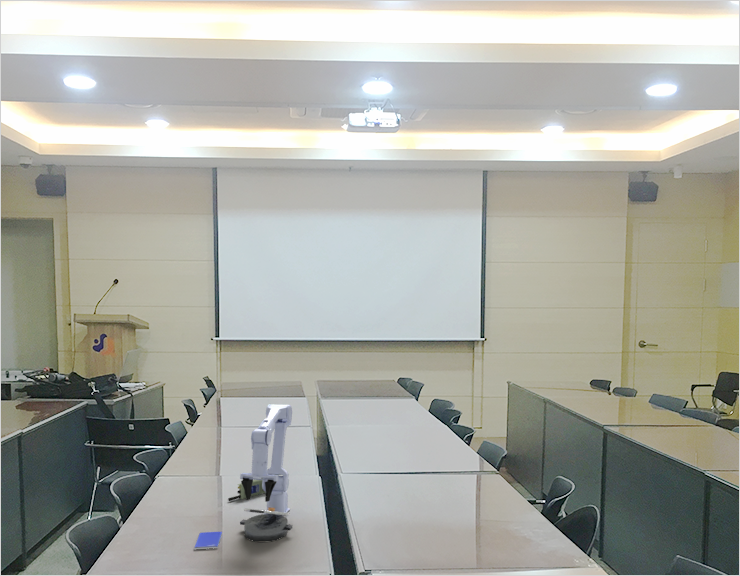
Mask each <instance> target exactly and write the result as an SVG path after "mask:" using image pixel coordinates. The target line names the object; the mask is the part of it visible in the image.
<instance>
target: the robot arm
mask: <svg viewBox="0 0 740 576" xmlns="http://www.w3.org/2000/svg"><path fill="white" fill-rule="evenodd" d="M265 415H266V418H264V419H263V420H262V421H261V422H260V424H259V426H258V427H257V428H255V429H254V430H252V431H251V436H250V443H251V450H252V455H251V456H252V457H251V458H252V460H251V472H249V473H247V472H246V473H245V472H242V473H240V474H239V479H240V480H241V481H240V482H241V483H242V485H243V487H244V490H245V494H246V498H245V500H246V501H249V500H251V499H252V497H251V488H252V483H253V480H263V481H262V488H263V490H264V491H265V493H264V494H265V496H264V497H265V498H264V500H265V502H266V510H268V507H270V508H275V511H278V512H286V513H289V511H290V510H291V508H290V507H288V505H289V503H288V502H289V498H288V497H289V495H288V492H287V491H288V489H289V484H290V483H289V481H290V479H289V475H290V474H289V472H288V471H287V470H286V469H285V468H284V467H283V465H284V456H285V445H286V444H285V443H286V436H287V435H286V434H287V428H288V427H289V426H291V425H292V417H293V407H292V405H291V404H276V403H275V404H271V403H269V404H268V405H267V406H266V410H265ZM273 433H274V434H273ZM272 435H273V436H272ZM272 437H273V443H272V453H271V464H270V467H269V468H268V463H269V462H268V461H269V445H270V444H271V441H272ZM278 475H279V476H278ZM262 478H263V479H262ZM241 483H240V484H241ZM283 516H284V517H285V515H283Z"/></svg>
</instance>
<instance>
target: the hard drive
mask: <svg viewBox="0 0 740 576" xmlns="http://www.w3.org/2000/svg"><path fill="white" fill-rule="evenodd" d="M221 535H222V536H223V531H207V532H206V531H205V532H200V533H199V534H198V537H197V540H196V542H195V545H194V547H193V550H194V551H196V550H195V549H206V550H210V549H209V548H213V549H212V550H215V549H214V548H218V549H219V546H218V545H220V543H219V542H221V539H222V536H221ZM207 548H208V549H207Z"/></svg>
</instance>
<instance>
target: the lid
mask: <svg viewBox="0 0 740 576" xmlns="http://www.w3.org/2000/svg"><path fill="white" fill-rule="evenodd" d="M243 510H244V512H247V513H248V512H249V513H255V514H276V515H284V516H290V513H289V512H287V513H286V512H278V511H275V508H270V507H268V510H267V509H259V508H245V507H244V509H243Z"/></svg>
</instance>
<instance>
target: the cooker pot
mask: <svg viewBox="0 0 740 576" xmlns="http://www.w3.org/2000/svg"><path fill="white" fill-rule="evenodd" d="M239 524H240V525H241V526H244V534H245V535H244V537H245V539H247V538H248V539H250V540H249V541H251V540H253V541H252V542H255V541H271V542H273V541H272V540H275V541H278V540H280V539H279V538H281V537H283V536H284V537H286V536H287V534H288V531H291V530H292V529H293V524H292V525H291V524H288V519H287V517H285V515H284V516H283V515H276V514H265V513H261V514H258V515H253V516H251V517H249V518H247V519H241V520H240V522H239ZM284 537H283V538H284ZM248 539H247V540H248ZM277 539H278V540H277ZM281 539H282V538H281Z"/></svg>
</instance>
